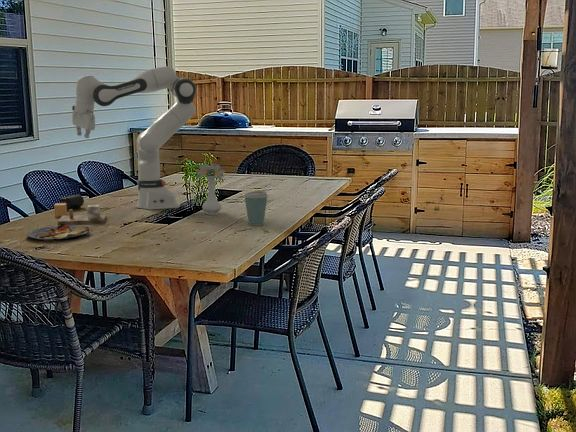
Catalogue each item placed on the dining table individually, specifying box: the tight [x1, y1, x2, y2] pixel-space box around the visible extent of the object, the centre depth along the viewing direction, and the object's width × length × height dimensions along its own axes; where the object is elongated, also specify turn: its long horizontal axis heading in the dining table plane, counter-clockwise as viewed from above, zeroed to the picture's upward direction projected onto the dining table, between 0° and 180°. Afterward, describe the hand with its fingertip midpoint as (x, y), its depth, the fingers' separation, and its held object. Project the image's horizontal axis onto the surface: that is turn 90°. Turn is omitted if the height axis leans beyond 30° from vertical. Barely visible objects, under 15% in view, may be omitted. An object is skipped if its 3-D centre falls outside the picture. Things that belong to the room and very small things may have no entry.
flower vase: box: [196, 162, 226, 216], centre depth 319 cm, size 13×18×25 cm
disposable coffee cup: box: [243, 190, 268, 227], centre depth 294 cm, size 11×11×15 cm
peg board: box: [57, 204, 107, 226], centre depth 301 cm, size 20×14×7 cm
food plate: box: [25, 224, 91, 242], centre depth 270 cm, size 25×23×4 cm
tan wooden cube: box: [53, 202, 68, 217], centre depth 314 cm, size 5×5×6 cm
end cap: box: [59, 194, 85, 211], centre depth 332 cm, size 10×7×7 cm
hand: (82, 136), depth 324 cm, fingers open, 8 cm apart
